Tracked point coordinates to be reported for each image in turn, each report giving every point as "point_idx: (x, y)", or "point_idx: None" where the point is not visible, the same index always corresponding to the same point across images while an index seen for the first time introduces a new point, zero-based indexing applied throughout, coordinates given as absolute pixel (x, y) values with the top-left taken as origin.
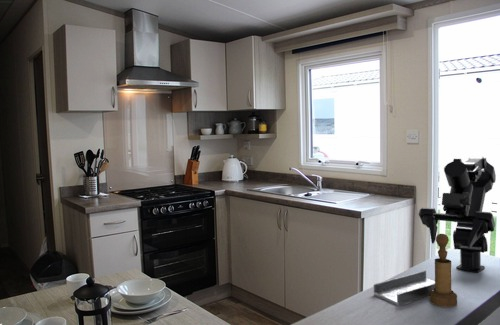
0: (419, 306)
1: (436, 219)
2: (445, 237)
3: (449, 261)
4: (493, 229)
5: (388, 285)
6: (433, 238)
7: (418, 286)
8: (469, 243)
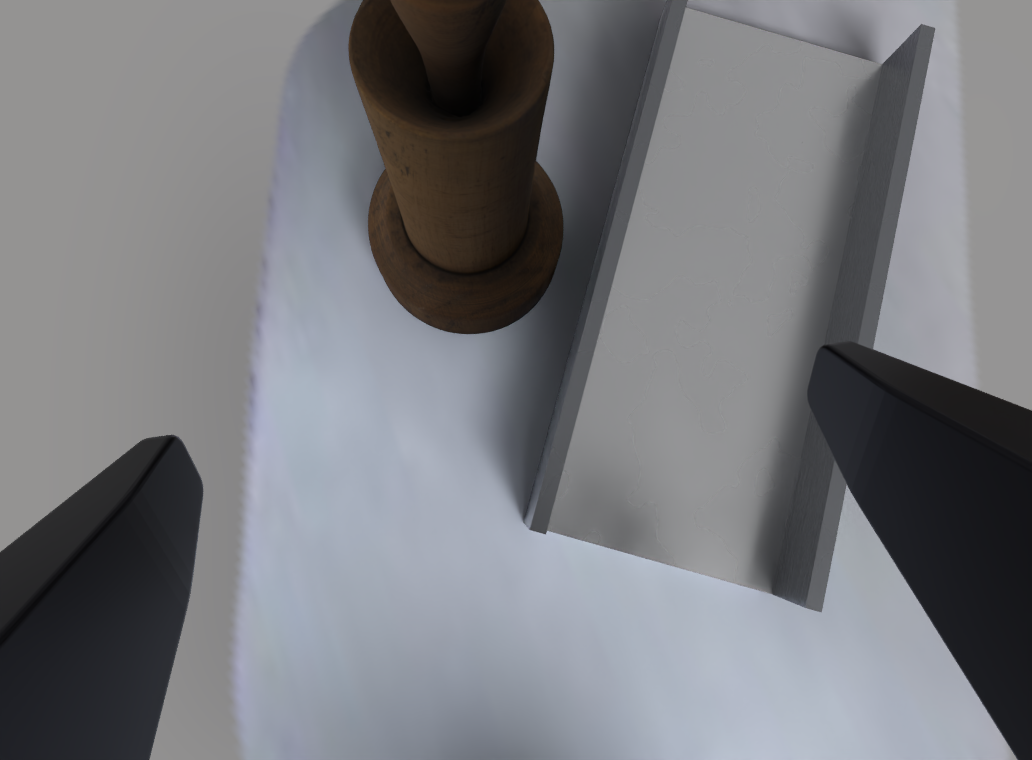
0: (558, 88)
1: None
2: None
3: (386, 100)
4: None
5: (873, 172)
6: (861, 371)
7: (720, 363)
8: (127, 460)
